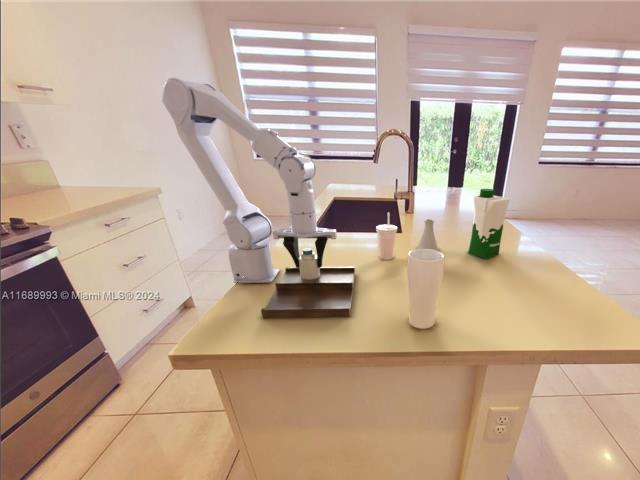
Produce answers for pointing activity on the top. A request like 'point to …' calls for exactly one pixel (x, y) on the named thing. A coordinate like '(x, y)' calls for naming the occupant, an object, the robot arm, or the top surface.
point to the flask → (428, 237)
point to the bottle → (308, 265)
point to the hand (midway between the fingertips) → (309, 266)
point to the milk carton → (487, 224)
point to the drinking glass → (424, 286)
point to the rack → (312, 294)
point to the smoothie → (386, 239)
